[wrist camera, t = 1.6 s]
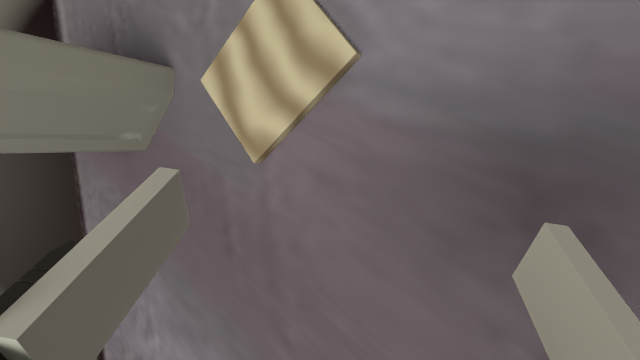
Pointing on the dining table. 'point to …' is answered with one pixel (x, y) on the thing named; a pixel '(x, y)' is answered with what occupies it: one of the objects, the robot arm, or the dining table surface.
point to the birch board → (276, 70)
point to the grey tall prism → (77, 97)
